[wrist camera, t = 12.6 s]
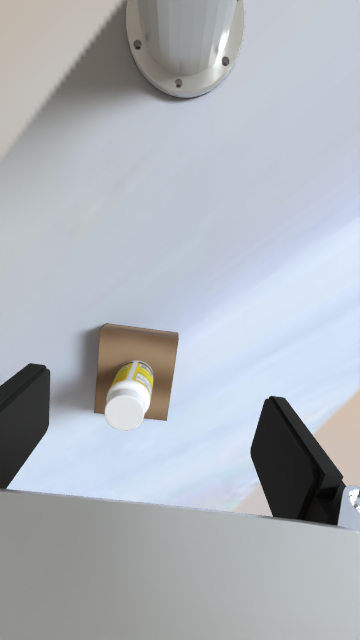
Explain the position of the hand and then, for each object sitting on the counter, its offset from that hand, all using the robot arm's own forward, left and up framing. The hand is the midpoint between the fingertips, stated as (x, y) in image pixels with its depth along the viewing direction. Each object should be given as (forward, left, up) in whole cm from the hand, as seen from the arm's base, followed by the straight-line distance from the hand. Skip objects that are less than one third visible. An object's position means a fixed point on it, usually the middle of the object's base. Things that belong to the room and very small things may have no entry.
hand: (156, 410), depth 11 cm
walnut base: (+9, -3, -24) cm, 26 cm away
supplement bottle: (+9, -3, -21) cm, 23 cm away
